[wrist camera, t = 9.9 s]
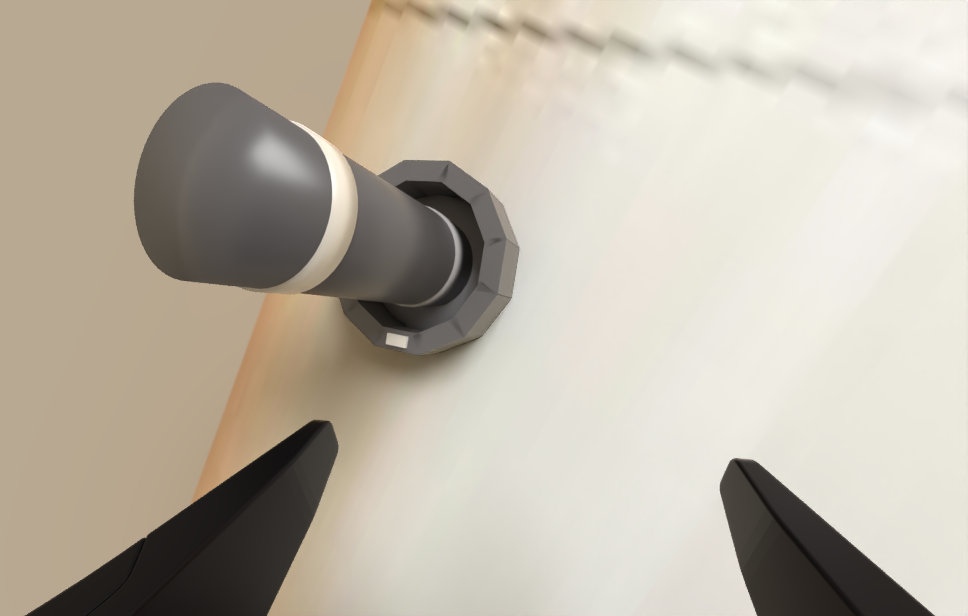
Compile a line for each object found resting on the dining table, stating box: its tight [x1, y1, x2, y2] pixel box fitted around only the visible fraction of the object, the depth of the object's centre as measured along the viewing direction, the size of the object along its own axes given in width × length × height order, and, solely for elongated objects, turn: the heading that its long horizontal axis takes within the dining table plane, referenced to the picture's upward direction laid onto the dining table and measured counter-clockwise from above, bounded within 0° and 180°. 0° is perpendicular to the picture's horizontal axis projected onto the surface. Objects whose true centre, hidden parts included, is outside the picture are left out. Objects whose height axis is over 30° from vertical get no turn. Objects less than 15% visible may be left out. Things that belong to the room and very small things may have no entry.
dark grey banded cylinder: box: [134, 83, 473, 307], centre depth 16 cm, size 5×5×13 cm
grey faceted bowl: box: [339, 160, 519, 355], centre depth 21 cm, size 10×10×3 cm
